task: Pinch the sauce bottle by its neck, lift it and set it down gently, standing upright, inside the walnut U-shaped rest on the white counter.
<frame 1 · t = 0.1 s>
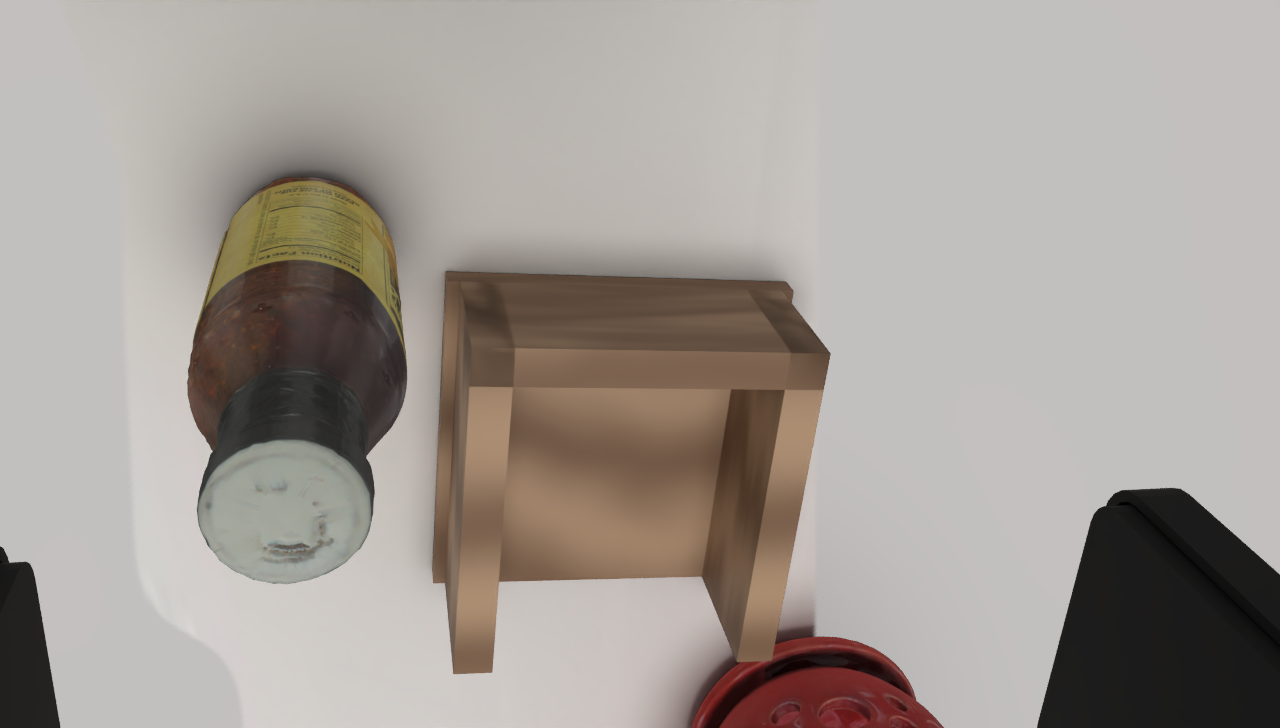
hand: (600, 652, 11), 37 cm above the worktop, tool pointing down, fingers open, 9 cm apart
sauce bottle: (313, 240, 47), on the worktop
plant pot: (787, 707, 62), on the worktop
u rest: (604, 429, 52), on the worktop
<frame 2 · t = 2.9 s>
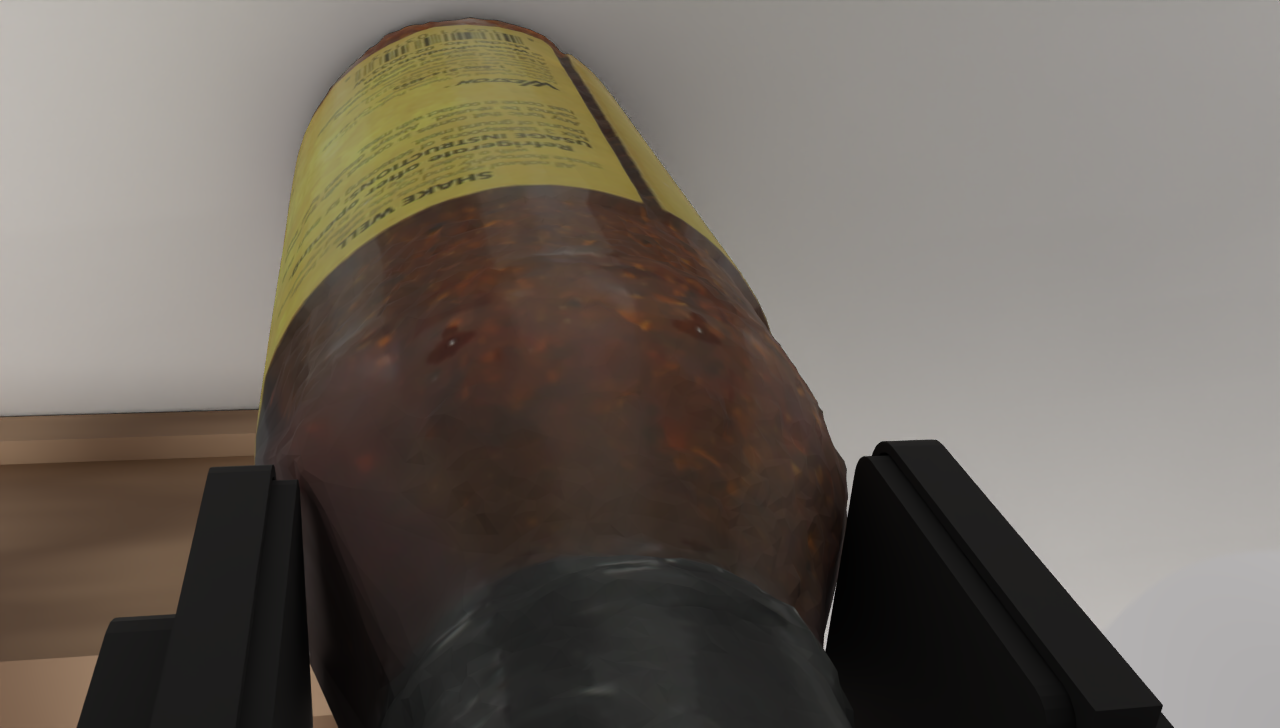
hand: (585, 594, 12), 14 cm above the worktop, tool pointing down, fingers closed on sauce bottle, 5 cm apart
sauce bottle: (477, 171, 24), on the worktop, touching gripper
u rest: (108, 695, 27), on the worktop
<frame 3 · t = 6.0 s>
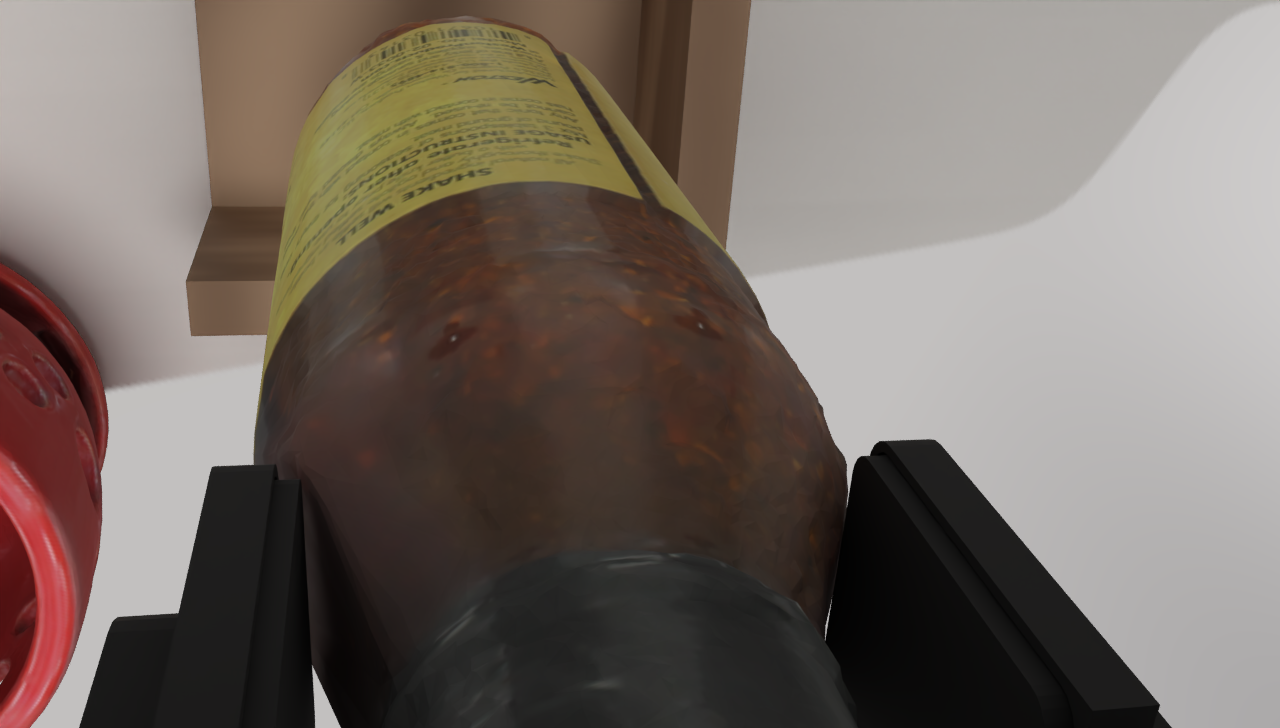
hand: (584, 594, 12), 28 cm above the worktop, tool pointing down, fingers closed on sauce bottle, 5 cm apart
sauce bottle: (473, 169, 24), point 14 cm above the worktop, touching gripper
u rest: (450, 34, 36), on the worktop
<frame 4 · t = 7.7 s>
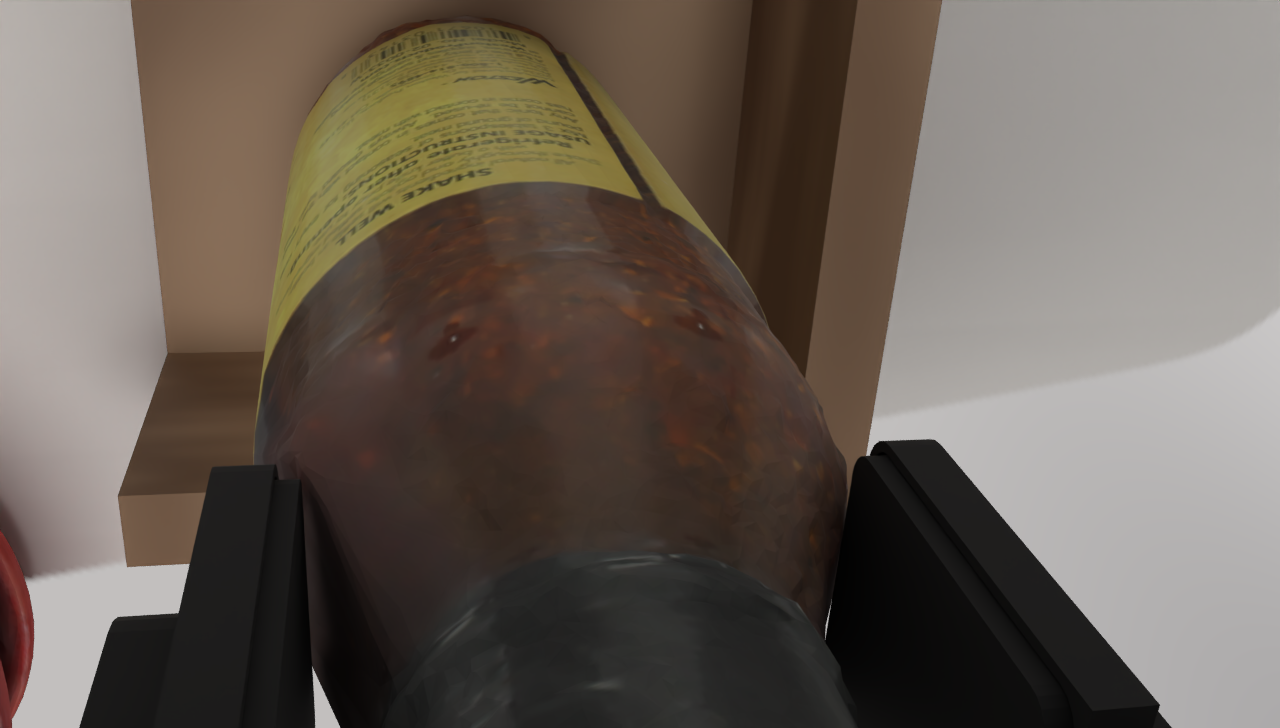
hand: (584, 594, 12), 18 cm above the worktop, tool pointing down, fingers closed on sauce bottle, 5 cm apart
sauce bottle: (473, 169, 24), point 4 cm above the worktop, touching gripper
u rest: (487, 123, 27), on the worktop
when the fingers open (15 cm above the worktop, at t = 9.0 s): sauce bottle stays where it is, resting on u rest.
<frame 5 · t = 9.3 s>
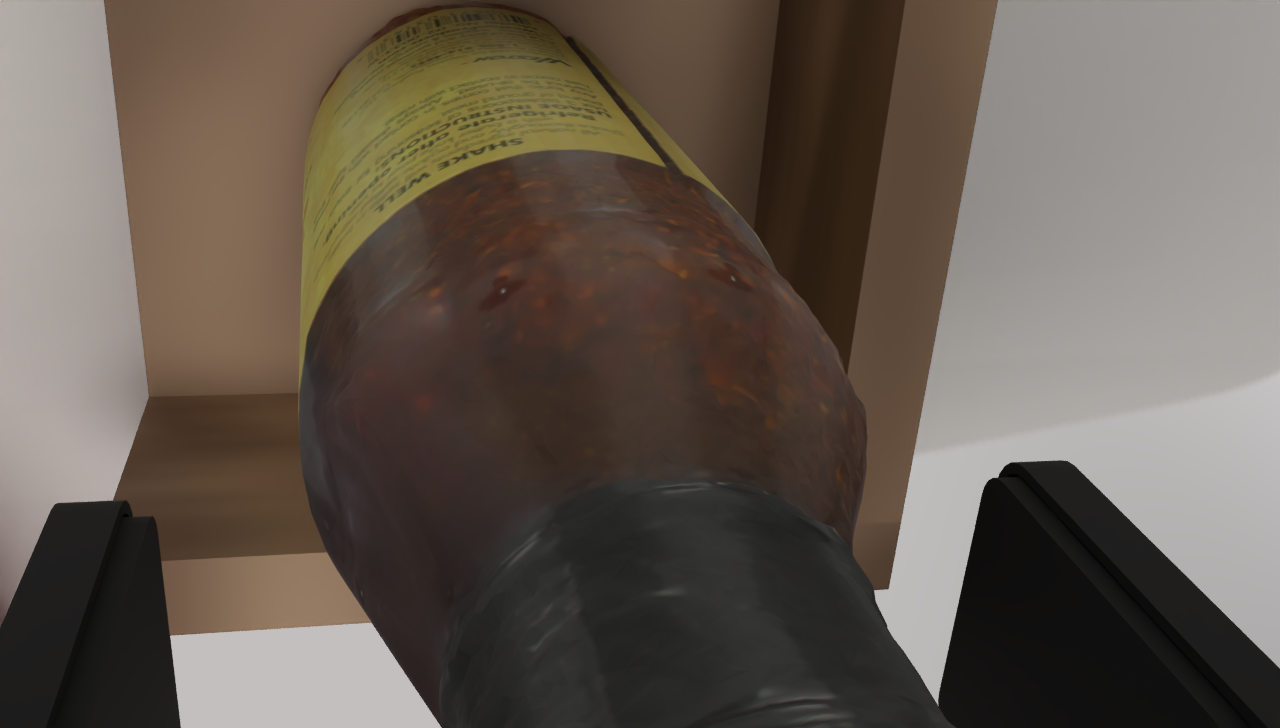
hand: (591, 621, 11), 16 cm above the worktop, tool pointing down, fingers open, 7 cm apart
sauce bottle: (479, 152, 24), point 1 cm above the worktop, touching u rest
u rest: (492, 149, 25), on the worktop
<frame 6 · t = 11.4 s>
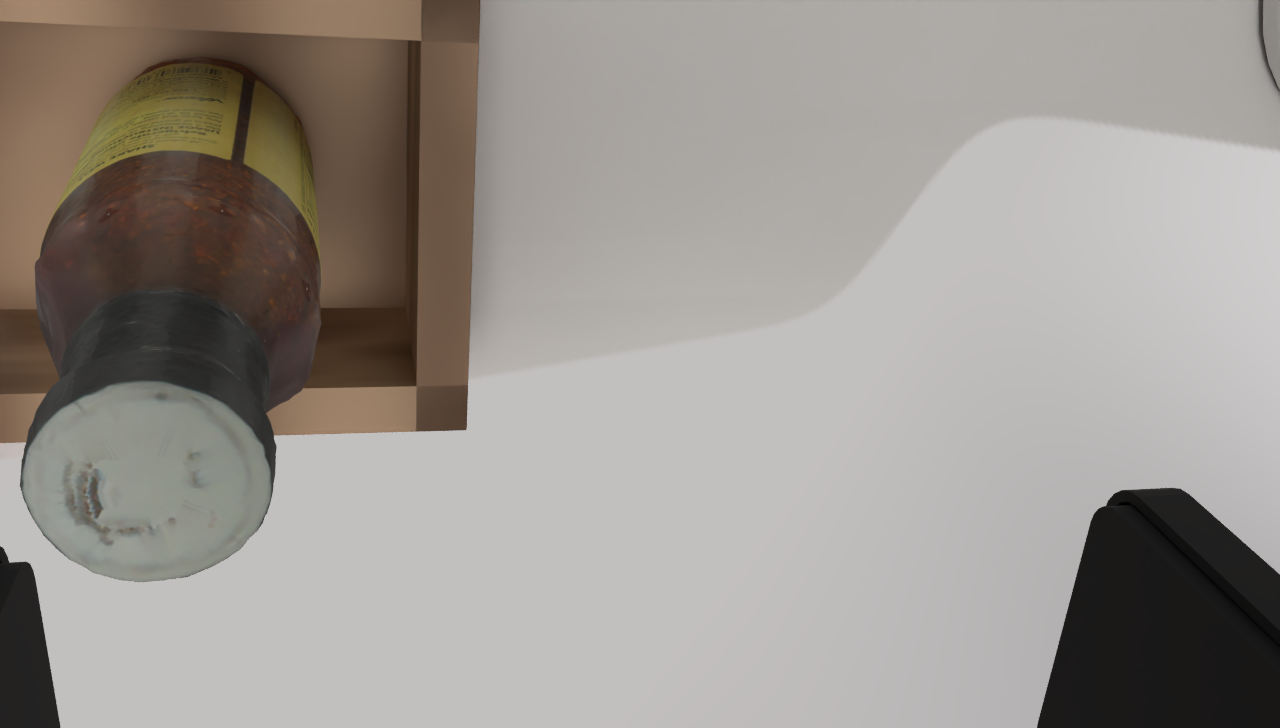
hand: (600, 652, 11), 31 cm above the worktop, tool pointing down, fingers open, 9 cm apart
sauce bottle: (215, 151, 38), point 1 cm above the worktop, touching u rest
u rest: (228, 150, 39), on the worktop
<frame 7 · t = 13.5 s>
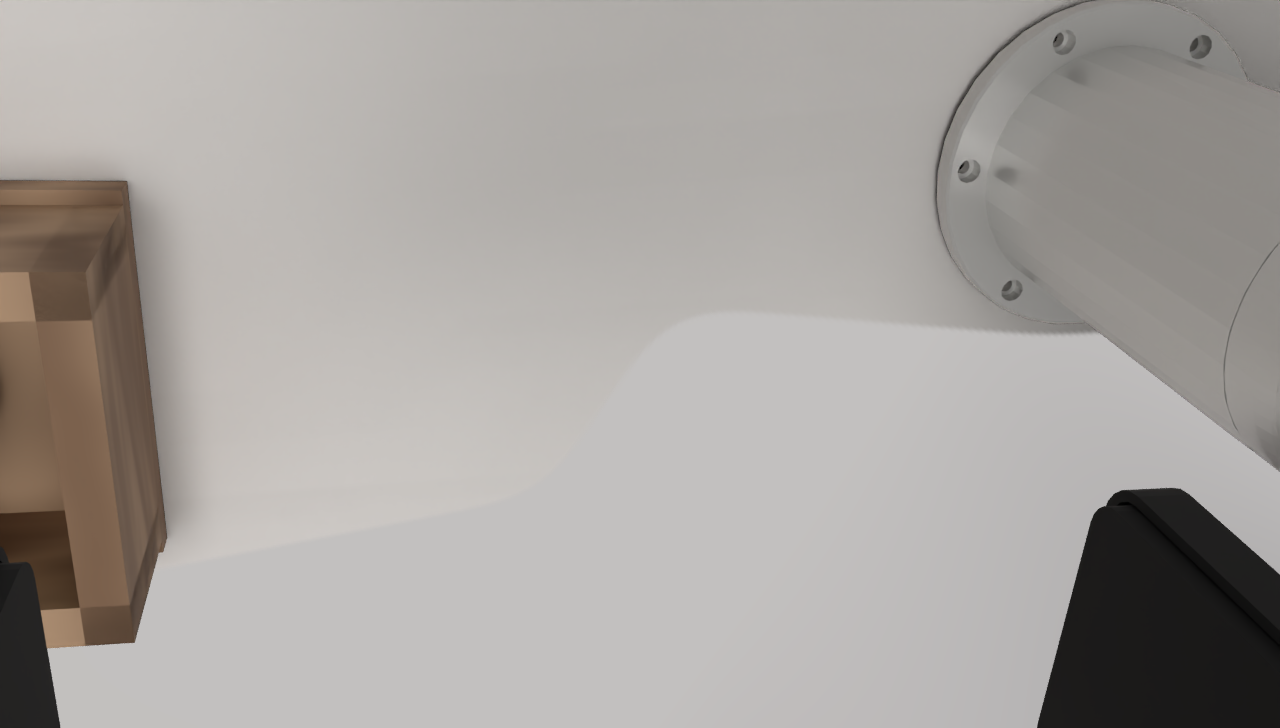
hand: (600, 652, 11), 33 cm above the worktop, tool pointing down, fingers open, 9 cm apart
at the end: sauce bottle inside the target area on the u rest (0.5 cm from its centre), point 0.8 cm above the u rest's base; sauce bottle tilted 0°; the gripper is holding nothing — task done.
